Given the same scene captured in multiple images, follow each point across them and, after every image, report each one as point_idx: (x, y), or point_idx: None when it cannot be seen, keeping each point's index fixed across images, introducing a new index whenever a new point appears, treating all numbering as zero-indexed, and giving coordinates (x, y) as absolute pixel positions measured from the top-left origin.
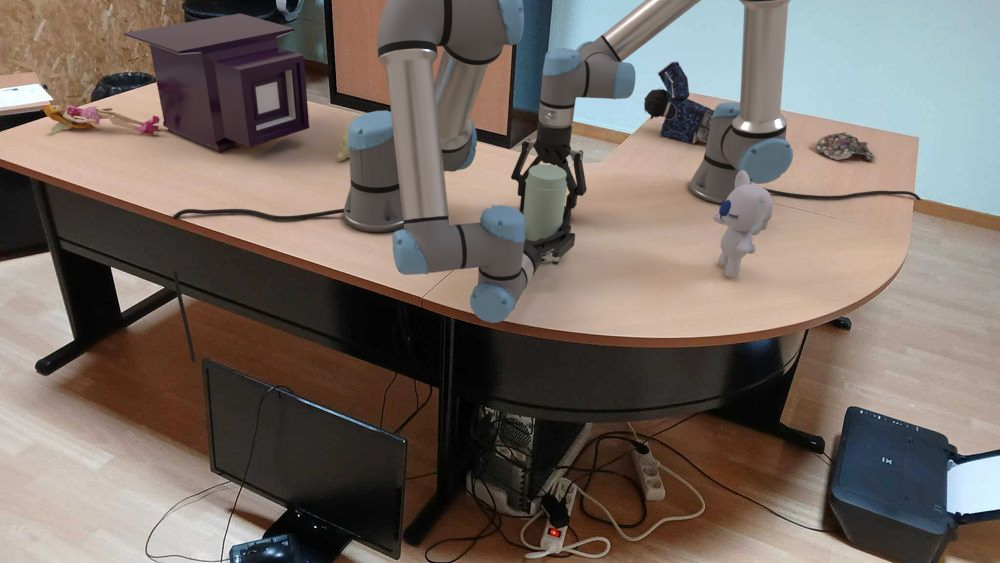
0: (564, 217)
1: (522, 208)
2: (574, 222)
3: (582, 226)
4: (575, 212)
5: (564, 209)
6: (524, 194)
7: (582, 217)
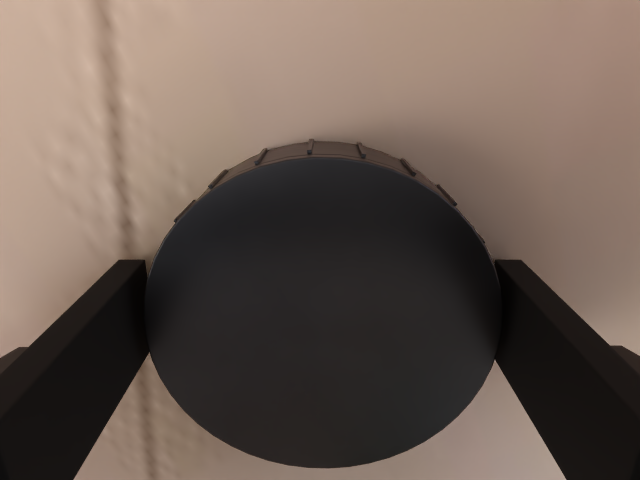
0: (498, 361)
1: (144, 352)
2: (555, 285)
3: (622, 313)
4: (537, 114)
5: (486, 299)
6: (90, 442)
7: (609, 176)
